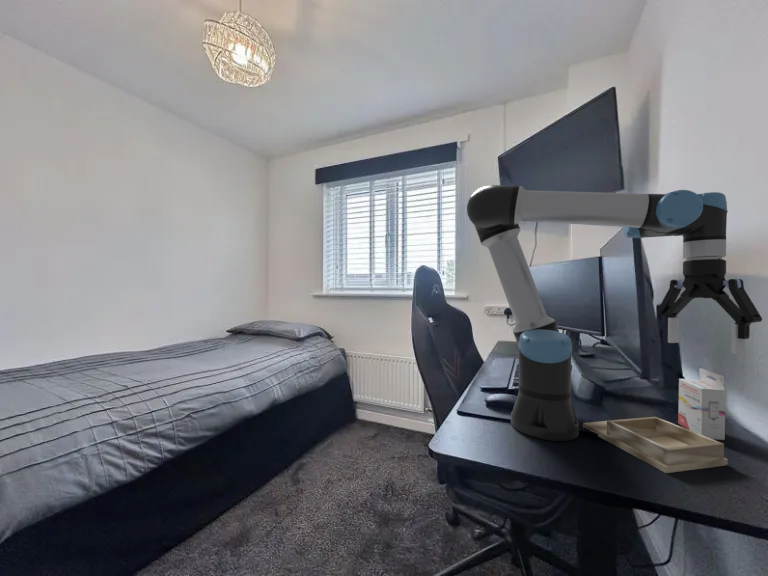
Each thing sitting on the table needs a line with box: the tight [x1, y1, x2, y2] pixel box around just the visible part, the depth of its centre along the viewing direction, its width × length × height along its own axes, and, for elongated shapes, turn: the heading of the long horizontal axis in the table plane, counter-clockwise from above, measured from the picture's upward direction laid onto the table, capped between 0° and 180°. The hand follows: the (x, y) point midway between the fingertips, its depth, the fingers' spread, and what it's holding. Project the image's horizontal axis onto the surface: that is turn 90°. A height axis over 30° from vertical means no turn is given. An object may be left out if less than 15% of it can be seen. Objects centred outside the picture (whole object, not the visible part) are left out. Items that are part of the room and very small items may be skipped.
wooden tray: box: [582, 416, 729, 474], centre depth 74 cm, size 20×15×4 cm
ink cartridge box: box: [677, 367, 727, 441], centre depth 81 cm, size 9×5×15 cm, turn 168°
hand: (703, 347), depth 80 cm, fingers open, 13 cm apart
